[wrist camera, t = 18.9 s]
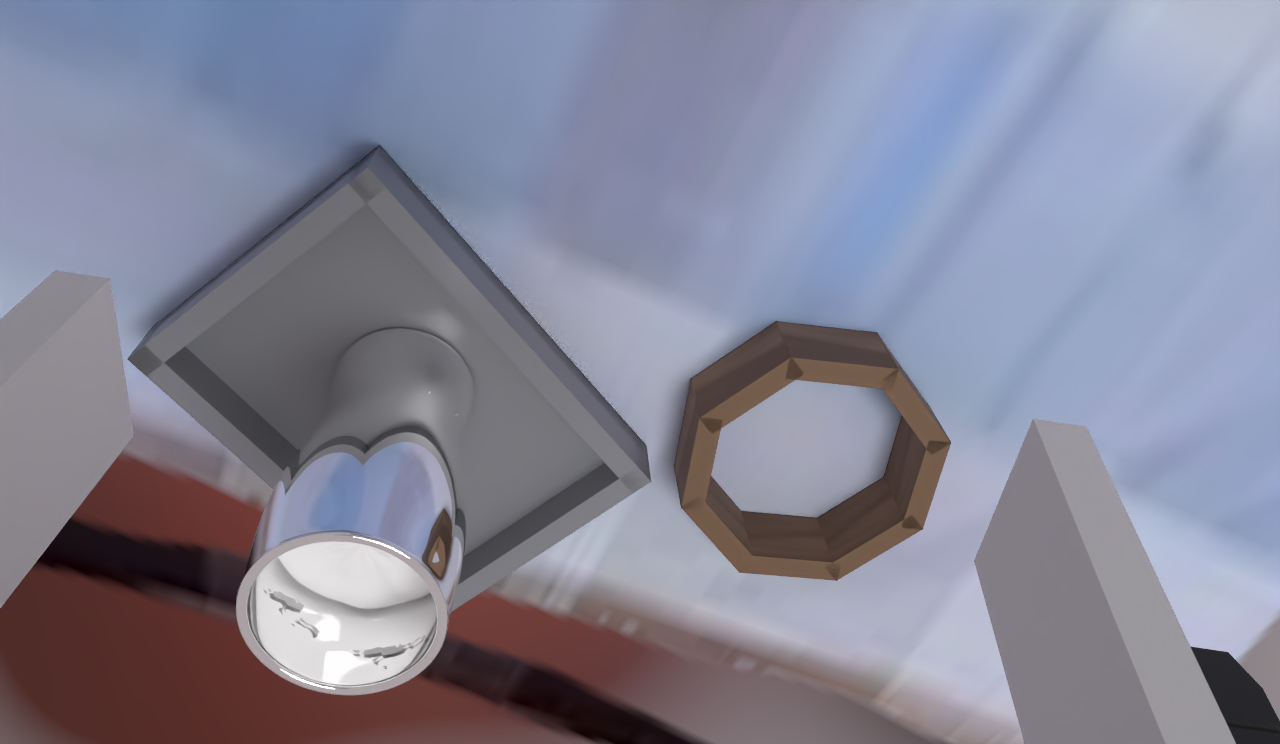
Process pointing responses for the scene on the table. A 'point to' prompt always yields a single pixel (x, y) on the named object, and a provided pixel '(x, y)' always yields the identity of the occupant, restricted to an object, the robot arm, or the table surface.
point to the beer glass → (366, 524)
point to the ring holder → (846, 528)
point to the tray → (397, 298)
